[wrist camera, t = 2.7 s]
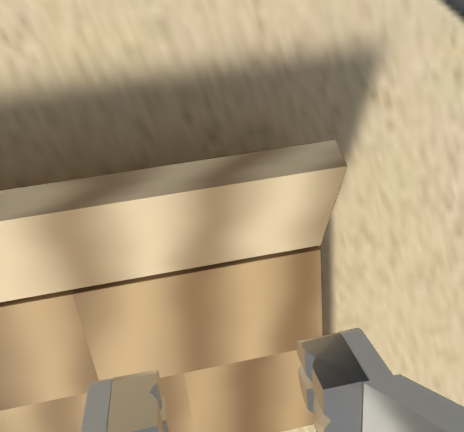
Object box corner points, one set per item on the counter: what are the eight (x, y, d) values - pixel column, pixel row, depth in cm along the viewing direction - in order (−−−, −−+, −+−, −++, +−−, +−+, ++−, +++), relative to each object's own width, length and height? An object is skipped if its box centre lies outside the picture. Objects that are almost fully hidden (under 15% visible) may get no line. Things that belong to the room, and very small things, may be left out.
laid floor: (311, 237, 27) (320, 249, 26) (316, 404, 33) (324, 421, 31) (-110, 311, 24) (-126, 330, 23) (-22, 478, 30) (-31, 501, 29)
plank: (335, 139, 20) (347, 166, 20) (312, 222, 26) (320, 245, 25) (-237, 226, 18) (-253, 261, 17) (-121, 296, 24) (-129, 325, 23)
